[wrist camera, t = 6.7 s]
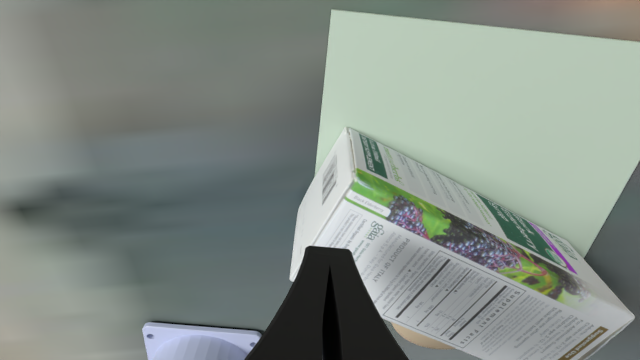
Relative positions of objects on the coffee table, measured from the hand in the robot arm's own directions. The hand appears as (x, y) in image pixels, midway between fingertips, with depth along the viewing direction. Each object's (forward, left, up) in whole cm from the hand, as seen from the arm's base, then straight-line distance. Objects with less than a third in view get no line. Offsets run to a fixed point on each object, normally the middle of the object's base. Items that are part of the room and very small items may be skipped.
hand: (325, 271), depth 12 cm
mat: (0, -7, -9) cm, 12 cm away
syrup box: (-1, +1, -6) cm, 6 cm away
